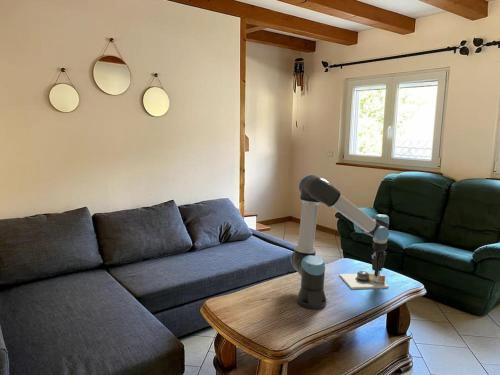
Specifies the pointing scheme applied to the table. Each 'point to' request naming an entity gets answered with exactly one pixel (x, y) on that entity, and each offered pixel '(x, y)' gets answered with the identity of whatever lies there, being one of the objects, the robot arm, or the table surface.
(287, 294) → the table surface
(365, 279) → the peg dial
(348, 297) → the table surface
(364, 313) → the table surface
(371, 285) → the board
